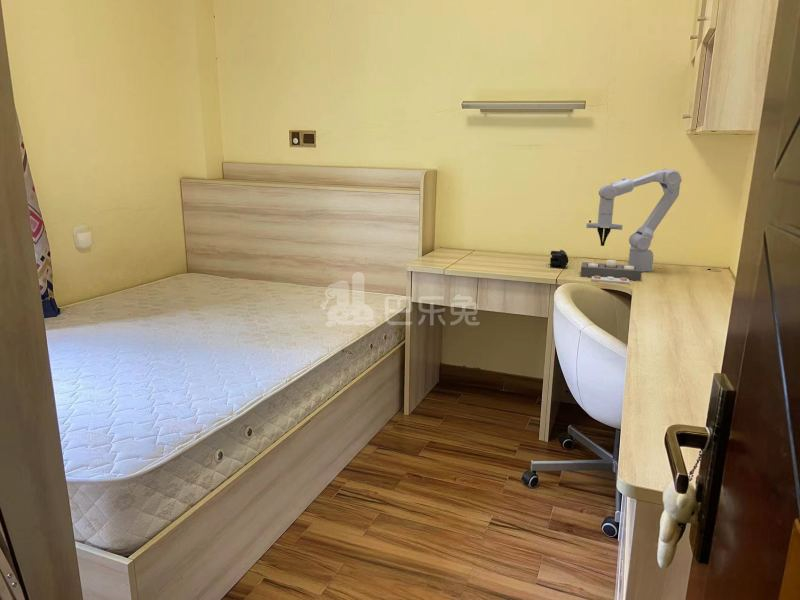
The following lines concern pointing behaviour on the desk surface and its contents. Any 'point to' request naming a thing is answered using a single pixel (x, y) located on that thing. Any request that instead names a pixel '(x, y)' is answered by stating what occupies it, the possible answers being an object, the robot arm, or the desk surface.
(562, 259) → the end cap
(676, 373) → the desk surface
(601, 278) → the pattern card
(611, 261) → the button
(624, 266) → the button
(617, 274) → the grey slotted tray
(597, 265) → the button
